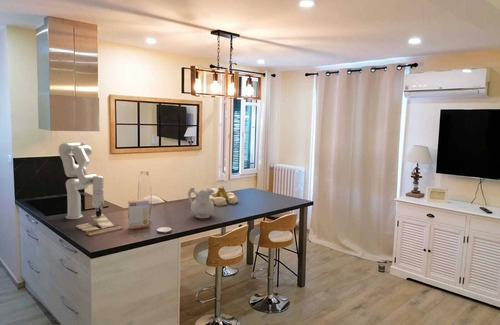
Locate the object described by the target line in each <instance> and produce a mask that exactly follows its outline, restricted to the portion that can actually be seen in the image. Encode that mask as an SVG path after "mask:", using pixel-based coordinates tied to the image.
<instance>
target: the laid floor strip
mask: <svg viewBox="0 0 500 325" xmlns="http://www.w3.org/2000/svg"><path fill="white" fill-rule="evenodd" d="M123 229H124V228H123V227H122V226H119V225H118V224H115V225H114V226H110V227H105V228H101V227H100V228H99V229H96V230H92V231H87V232H85V235H86V236H89V237H95V236H99V235H105V234H107V233H112V232H117V231H122V230H123Z"/></svg>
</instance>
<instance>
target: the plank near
mask: <svg viewBox="0 0 500 325" xmlns="http://www.w3.org/2000/svg"><path fill="white" fill-rule="evenodd" d="M75 228H77V229H79V230H81V231H83V232H84V231H85V233H86V232H87V231H92V230H96V229H100V227H99V228H98V227H97V226H94V225H93V224H90V223H89V222H88V223H83V224H82V223H81V224H78V225H76V226H75Z"/></svg>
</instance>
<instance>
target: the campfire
mask: <svg viewBox="0 0 500 325" xmlns="http://www.w3.org/2000/svg"><path fill="white" fill-rule="evenodd" d="M209 198H210V200H211V201H212V202H213V204H214V205H215V206H222V207H223V206H226V205H227V204H230V205H234V204H237V202H238V200H239V199H238V195H235V193H233V192H226V189H225V188H224V186H223V185H221V186H219V187H217V191H214V195H213V193H212V194H211V195H210V196H209ZM227 201H228V203H227Z"/></svg>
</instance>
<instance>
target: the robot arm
mask: <svg viewBox="0 0 500 325" xmlns="http://www.w3.org/2000/svg"><path fill="white" fill-rule="evenodd" d="M92 151H93V150H92V148H91V146H89V145H88V144H86V143H83V142H79V141H78V142H77V141H76V142H62V143H61V144H60V145H59V146H58V155H59V157H60V159H61V160H62V165H63V169H64V174H65V175H66V177H68V178H69V179H67V180H66V182H65V188H66V193H67V195H66V196H67V215H66V216H65V219H67V220H77V219H82V218H83V217H84V215H83V214H82V202H81V200H82V198H81V193H80V191H79V190H85V189H87V188H89V187H90V185H91V186H92V198H91V206H92V207H94V208H95V215H96V216H101V214H102V210H104V207H105V200H104V199H105V196H104V190H105V188H104V176H102V175H98V174H96V173H95V174H92V173H91V174H88V171H87V168H86V167H88V166H89V165H90V162H91V161H90V159H89V156H92V153H93V152H92ZM71 154H72V155H73V156H72V155H71ZM75 161H76V163H75ZM73 177H74V178H73Z"/></svg>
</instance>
